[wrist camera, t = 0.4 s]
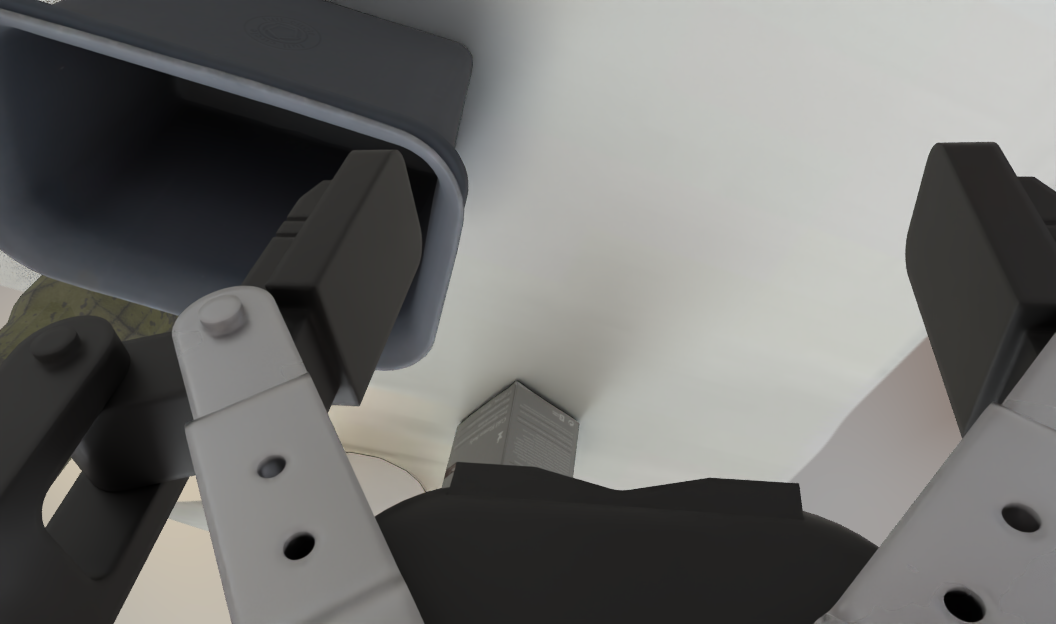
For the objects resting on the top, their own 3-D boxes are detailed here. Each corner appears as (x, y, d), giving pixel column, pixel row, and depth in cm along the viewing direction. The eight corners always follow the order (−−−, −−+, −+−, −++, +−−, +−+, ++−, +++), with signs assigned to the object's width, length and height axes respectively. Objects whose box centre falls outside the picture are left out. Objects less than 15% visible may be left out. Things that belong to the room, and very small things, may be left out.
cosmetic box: (517, 376, 56) (471, 572, 44) (589, 426, 58) (564, 625, 46) (451, 426, 61) (394, 614, 49) (521, 470, 63) (482, 660, 51)
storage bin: (537, 13, 38) (478, 156, 28) (476, 248, 49) (416, 417, 38) (120, -120, 37) (-106, -24, 27) (148, 148, 48) (-8, 294, 37)
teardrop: (413, 541, 73) (375, 666, 64) (301, 504, 72) (246, 627, 63) (441, 478, 66) (402, 610, 57) (317, 437, 65) (257, 564, 56)
